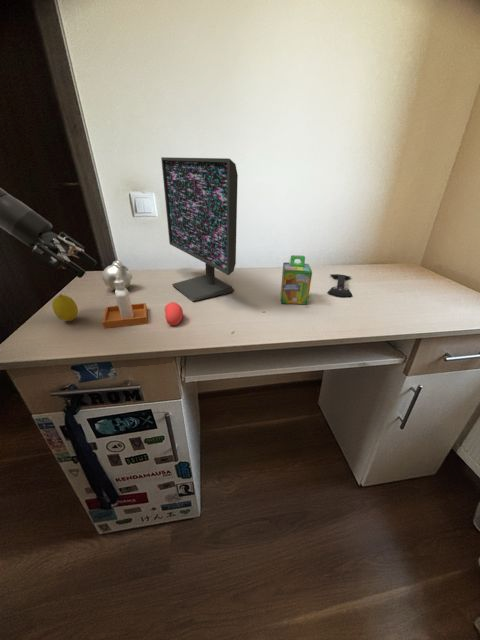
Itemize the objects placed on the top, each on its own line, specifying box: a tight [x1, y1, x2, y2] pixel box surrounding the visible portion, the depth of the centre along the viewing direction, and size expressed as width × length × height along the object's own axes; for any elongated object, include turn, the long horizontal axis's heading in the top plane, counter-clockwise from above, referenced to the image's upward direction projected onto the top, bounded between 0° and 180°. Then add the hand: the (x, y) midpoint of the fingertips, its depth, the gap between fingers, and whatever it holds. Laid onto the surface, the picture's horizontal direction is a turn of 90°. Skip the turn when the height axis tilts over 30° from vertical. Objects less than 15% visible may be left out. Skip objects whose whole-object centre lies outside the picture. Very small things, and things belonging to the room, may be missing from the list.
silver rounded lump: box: [101, 259, 133, 291], centre depth 98 cm, size 9×10×10 cm
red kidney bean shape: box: [164, 301, 184, 326], centre depth 82 cm, size 5×9×6 cm
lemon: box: [51, 294, 79, 322], centre depth 78 cm, size 6×6×8 cm
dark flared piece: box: [327, 273, 353, 298], centre depth 111 cm, size 9×25×3 cm, turn 166°
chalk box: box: [280, 254, 313, 306], centre depth 95 cm, size 9×9×15 cm
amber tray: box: [101, 302, 148, 329], centre depth 82 cm, size 11×10×2 cm
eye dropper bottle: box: [114, 276, 134, 319], centre depth 79 cm, size 4×6×12 cm
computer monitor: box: [160, 156, 239, 302], centre depth 92 cm, size 44×16×40 cm, turn 37°
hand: (89, 269), depth 74 cm, fingers open, 8 cm apart
